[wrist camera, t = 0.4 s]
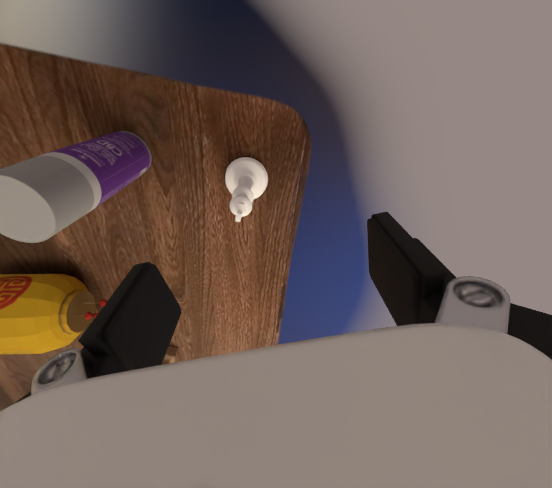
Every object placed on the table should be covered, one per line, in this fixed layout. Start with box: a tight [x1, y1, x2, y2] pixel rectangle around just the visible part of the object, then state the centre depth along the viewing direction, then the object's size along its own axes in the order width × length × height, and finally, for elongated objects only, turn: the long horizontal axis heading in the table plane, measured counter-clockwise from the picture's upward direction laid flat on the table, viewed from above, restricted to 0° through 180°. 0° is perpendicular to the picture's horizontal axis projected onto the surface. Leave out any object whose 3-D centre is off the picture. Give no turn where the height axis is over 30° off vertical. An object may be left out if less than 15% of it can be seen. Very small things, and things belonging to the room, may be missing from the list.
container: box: [0, 131, 152, 243], centre depth 21 cm, size 5×5×15 cm
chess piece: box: [225, 157, 268, 222], centre depth 25 cm, size 5×5×10 cm
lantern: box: [0, 274, 107, 354], centre depth 33 cm, size 10×10×30 cm
